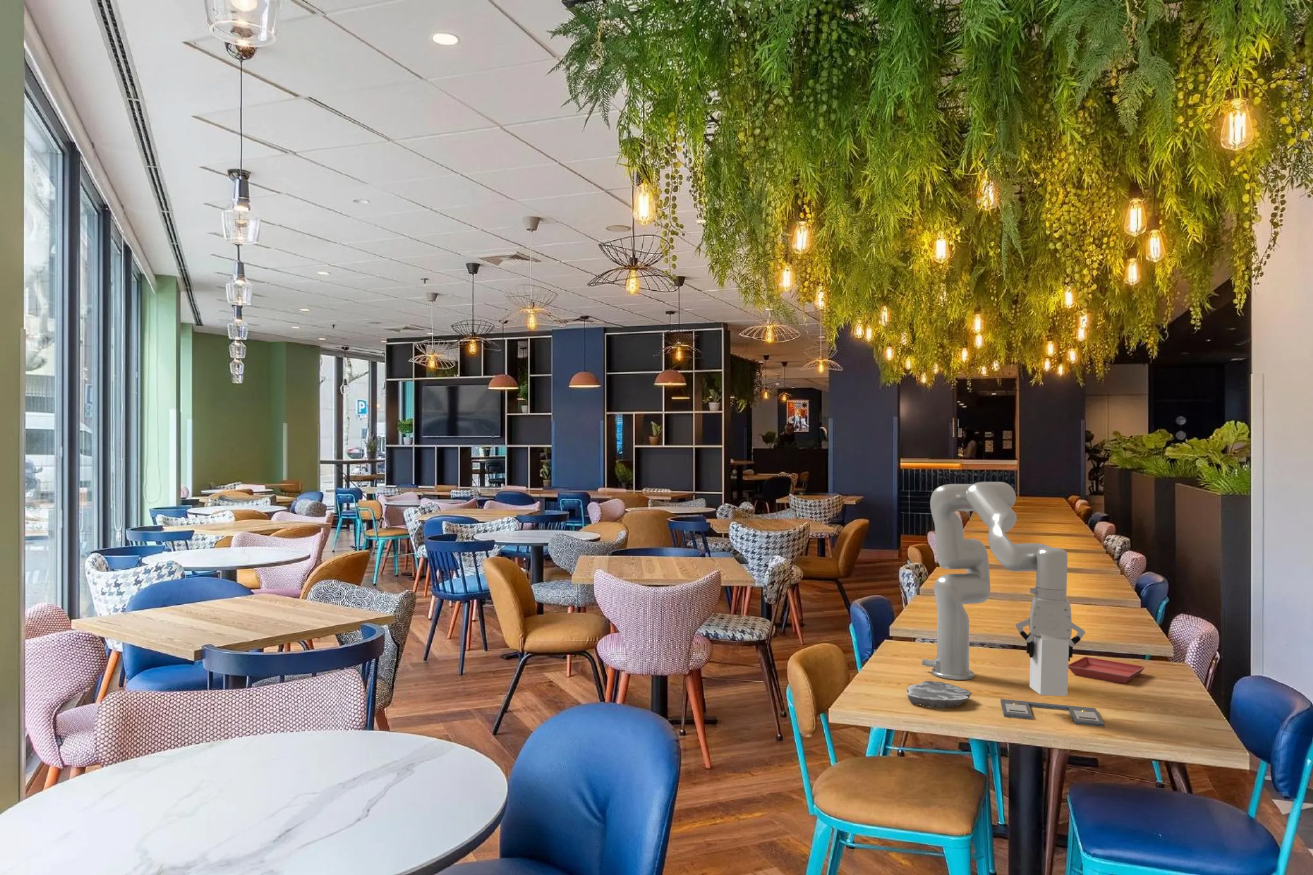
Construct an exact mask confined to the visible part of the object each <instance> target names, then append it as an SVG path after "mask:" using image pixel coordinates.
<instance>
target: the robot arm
mask: <svg viewBox="0 0 1313 875" xmlns="http://www.w3.org/2000/svg"><path fill="white" fill-rule="evenodd" d="M1016 495H1017V494H1016V492H1015V489H1014V488H1013V487H1012V486H1011V485H1010V484H1008V483H1006V482H1003V481H978V482H975V483H949V484H948V483H947V484H943V485H940V486H938V487H936V488H935V489H934V490H933V492H932V494H931V496H930V500H929V502H930V503H929V505H930V512H931V516H932V520H933V523H934V531H935V532H934V534H935V546H936V547H935V549H936V558H937V562H938V565H939V566H940V567H941V568H943V569H945V570H965V571H966V573H962V572H961V573H947V574H942V575H941V576H939V577H938V578H936V579H935V582H934V586H933V591H934V597H935V603H936V618H937V620H936V625H937V626H936V633H937V634H936V656H935V658H932V659H925V658H922V659H921V665H922V666H925V667H927V668H930V667H932V668H931V673H932V675H933V676H936V677H938V678H943V679H945V680H946V679H947V680H956V681H961V680H962V681H963V680H965V681H966V680H971V679H973V678H974V677H975V672H974V671H973V670H970V619H969V618H970V617H969V614H968V612H967V611H966V609H965V608H964V605H970V604H971V605H972V604H981V603H985V602H986V601H987V600H989V597H990V595H991V576H990V563H989V561H990V560H989V554H988V550H987V548H986V546H985V544H984V543H983V542H982V541H980V540H979V539H977V538H965V534H964V525H963V522H962V520H961V518H960V517H959V516H958V514H956V512H976V514H977V516H978V517H979V518H980V520H982V521H983V523H984V524H985V526H986V527H987V528H988V529H989V530H988V534H987V535H988V536H987V537H988V538H987V540H988V544H989V549H990V552H991V553H992V554H993V555H994V557H995V558H996V560H997V561H998V562H999V563H1000V564H1001V565H1002V567H1004V568H1005V569H1006V570H1009V571H1011V572H1029V571H1031V572H1035V571H1036V573H1035V574H1036V575H1035V577H1036V578H1035V587H1033V588H1031V587H1030V588H1029V594H1032V595H1034V596H1033V598H1032V601H1031V605H1030V611H1029V618H1026V619H1025V620H1022V621H1020V622H1018V623H1016V624H1015V627H1016V630H1017V631H1018V633H1019V635H1020V636H1021V638H1023V639H1024V640H1025V641H1026V654H1028V656H1029V658H1032V657H1033V642H1032V640H1033V639H1034V638H1035V637H1036V636H1038V637H1041V635H1040V633H1042V634H1045V635H1048V636H1051V637H1056V638H1061V639H1069V657H1068V662H1070V661H1071V659H1072V658H1073V648H1074V646H1075V645H1076V644H1078V643H1079V642H1080V641H1081V639H1082V638H1083V637H1084V635H1085V634H1086V631H1085V629H1083V628H1081V627H1080V626H1078V625H1077V624H1076V623H1073V622H1072V607H1071V602H1070V600H1069V599H1067V595H1068V593H1067V591H1068V589H1067V586H1068V559H1069V558H1068V557H1069V556H1068V553H1067V551H1066V550H1065V549H1063V548H1058V547H1051V546H1049V545H1047V544H1044V543H1041V542H1039V543H1037V542H1034V543H1032V542H1031V543H1029V542H1028V543H1013V541H1011V539H1010V538H1009V537H1008V536H1007V535H1006V533H1007V532H1009V531H1011V529H1012V528H1013V527H1014V526H1015V525H1016V523H1017V519H1018V518H1017V517H1018V516H1017V514H1016V512H1015V511H1014V510H1013V509H1012V507H1014V505H1015V503H1016V501H1017V500H1016V499H1017V496H1016ZM1026 626H1029V633H1026V631H1025V630H1024V629H1023V628H1024V627H1026ZM1073 630H1074V631H1075V632H1077V633H1076V635H1075V636H1073V637H1072V633H1073V632H1072V631H1073ZM1071 637H1072V638H1071Z"/></svg>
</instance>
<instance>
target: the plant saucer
mask: <svg viewBox="0 0 1313 875" xmlns="http://www.w3.org/2000/svg"><path fill="white" fill-rule="evenodd" d="M1145 668H1146V667H1145V666H1143V665H1137V664H1131V663H1126V662H1120V661H1115V660H1107V659H1102V658H1095V657H1090V656H1089V657H1088V656H1084V657H1081V658H1079V659H1077V660H1075V661H1073V662H1071V663H1068V670H1070V671H1071V673H1072V674H1073V675H1074V676H1078V677H1079V676H1080V677H1085V678H1091V679H1094V680H1095V679H1096V680H1101V681H1107V682H1111V681H1112V683H1117V684H1122V683H1124V684H1126V683H1128V682H1130V680H1132V678H1133V679H1134V678H1136V677H1138V676H1139V675H1140V674H1141V673H1142V672H1143V670H1145Z"/></svg>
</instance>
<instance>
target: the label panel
mask: <svg viewBox="0 0 1313 875" xmlns="http://www.w3.org/2000/svg"><path fill="white" fill-rule="evenodd" d="M1000 704H1001V710H1002V715H1003V717H1006V718H1016V719H1025V720H1034V716H1033V714H1032V711H1031V708H1040V709H1041V708H1042V709H1049V710H1051V709H1052V710H1061V711H1063V710H1064V711H1068V713H1069V715H1070V717H1071V719H1072V721H1073V723H1074V725H1081V724H1082V725H1083V726H1090V727H1091V726H1092V727H1100V726H1101V727H1102V728H1105V726H1106V725H1105V722H1104V721H1103V718H1102V717H1101V715H1100V713H1099V712H1098V710H1097V709H1096V708H1095V707H1089V706H1078V705H1077V706H1076V705H1069V704H1068V705H1067V704H1058V703H1047V702H1036V701H1027V700H1018V699H1017V700H1015V699H1009V698H1008V699H1007V698H1005V699H1004V698H1000ZM1029 706H1030V707H1029ZM1082 725H1081V726H1082Z"/></svg>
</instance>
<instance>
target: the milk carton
mask: <svg viewBox="0 0 1313 875" xmlns="http://www.w3.org/2000/svg"><path fill="white" fill-rule="evenodd" d="M1040 635H1041V637H1038V636H1036V637H1035V638H1034V639H1033V640H1032V642H1033V657H1032V658H1030V657H1029V658H1030V660H1029V661H1030V662H1029V688H1030V689H1032V690H1033V691H1035V692H1036V693H1037V694H1038V695H1040V696H1054V697H1055V696H1058V697H1059V696H1060V697H1061V696H1062V697H1068V685H1069V684H1068V683H1069V668H1068V665H1069V661H1068V657H1069V639H1061V638H1056V637H1051V636H1048V635H1045V634H1042V633H1040Z"/></svg>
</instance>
